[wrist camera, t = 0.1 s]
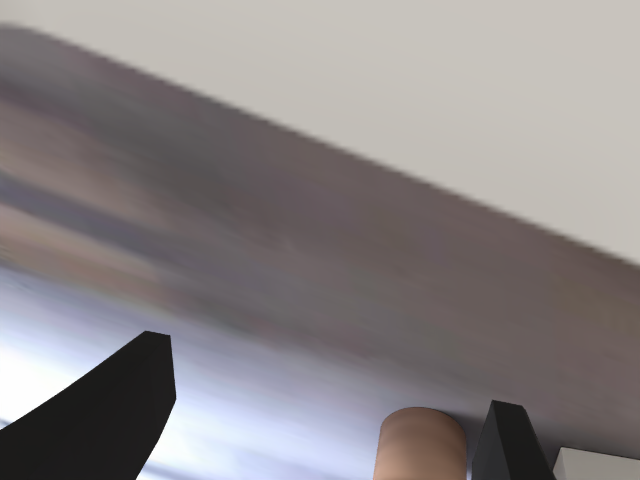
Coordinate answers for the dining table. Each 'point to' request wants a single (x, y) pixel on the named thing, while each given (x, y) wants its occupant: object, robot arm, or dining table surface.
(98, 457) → the robot arm
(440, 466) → the peg
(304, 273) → the dining table surface
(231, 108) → the dining table surface
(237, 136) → the dining table surface
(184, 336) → the dining table surface
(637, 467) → the socket block
